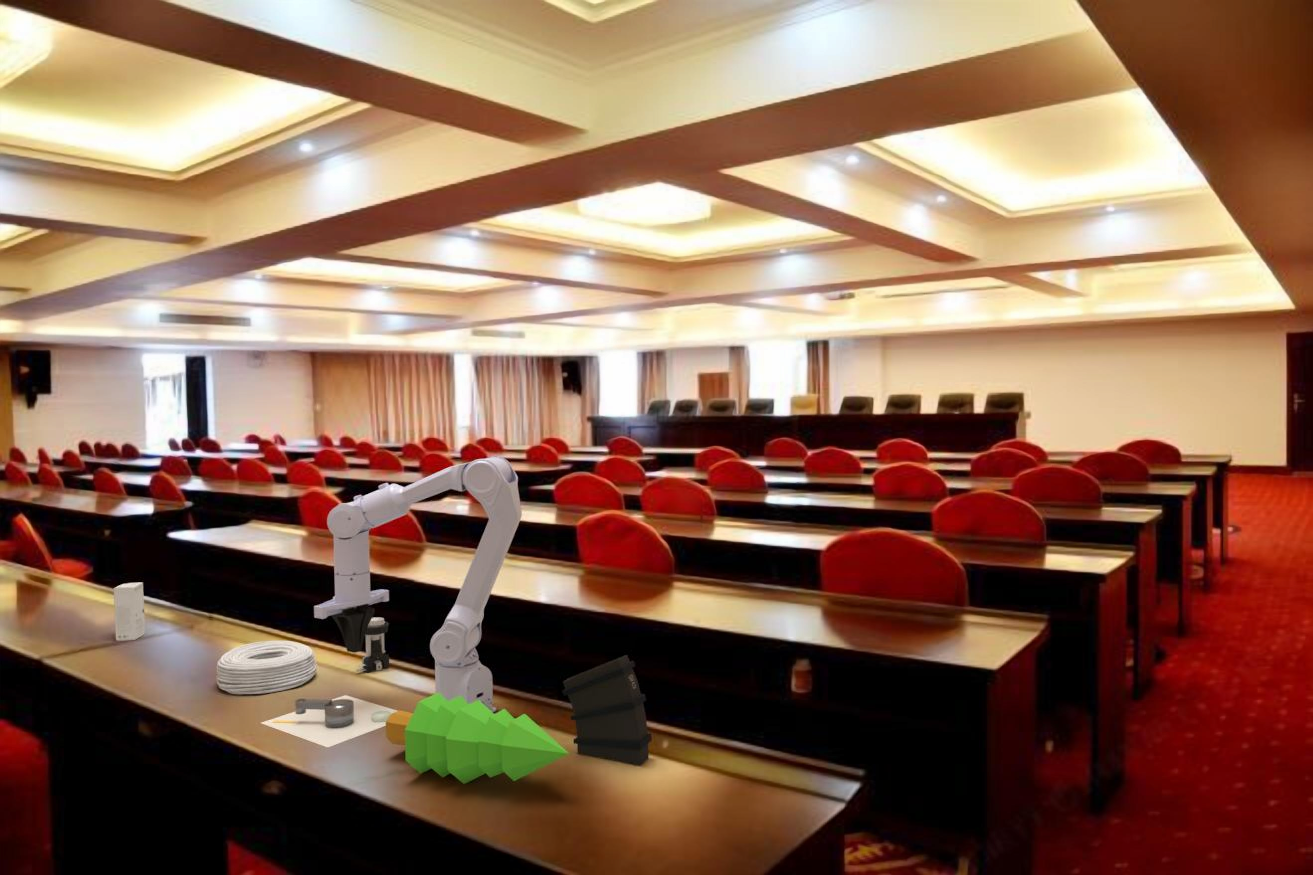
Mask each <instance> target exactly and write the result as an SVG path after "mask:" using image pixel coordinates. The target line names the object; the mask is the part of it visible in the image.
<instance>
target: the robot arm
mask: <svg viewBox="0 0 1313 875" xmlns="http://www.w3.org/2000/svg"><path fill="white" fill-rule="evenodd" d="M518 482H519V477H518V475H517V473H516V471H515V470H514V468H513V466H512V465H511V463H510V462H509V461H508V460H507V459H506V458H504V457H501V456H498V455H492V456H488V457H486V458H479V459H474V460H473V461H469V462H465V463H459V464H456V465H455V464H454V465H451V466H449V467H447V468H444V469H442V470H440V471H437V472H435V473H433V474H431V475H428V476H427V477H424V478H422V479H419V480H418V481H415V482H413V483H411V484H408V485H406V486H402V485H399V484H397V483H391V484H389V483H388V482H385V483H382V484H380V485H378V487H377V488H378V489H377V490H375V491H372V492H370V493H368V494H365V495H362V494H359V495H355V496H354V497H353V501H350V502H346V503H345V502H343V503H342V502H341V503H338V504H337V505H336V506H335V507H333V508H332V509H331V510H330V511H329V513H328V515H327V519H326V524H327V528H328V530H329V531H330V533H331V535H333V570H334V572H333V573H334V576H333V577H334V596H333V597H332V599H330V600H327V601H324V602H323V603H320V604H317V605H314V606H313V614H314V615H313V617H314V618H315V619H321V620H324V619H327V618H328V617H330V616H331V618H332V619H333V620H334V622H335V624H337V626H338V629H339V631H340V632H341V635H342V637H343V638H342V639H343V641H344V644H345V648H346V652H349V653H354V654H356V653H359V652H361V651H362V648H363V644H364V640H365V637H366V635H365V633H366V630H367V627H368V625H369V622H370V620H371V618H374V615H375V607H370V606H371V605H373V604H378V603H381V602H383V603H384V602H385V603H386V602H389V601H390V590H388V589H383V588H382V589H381V588H380V589H376V590H371V571H370V570H371V568H370V541H369V540H370V535H369V534H370V533H369V532H370V530H371V529H374V528H377V527H380V526H382V525H384V524H387V523H389V522H392V521H393V520H396V519H399V518H401V517H403V516H406V515H408V513H409V511H410V508H412V507H411V506H412V505H413V504H414V503H417V502H420V501H423V500H425V499H427V498H430V497H433V496H436V495H438V494H440V493H443V492H446V491H449V490H453V491H457V492H464V491H467V492H468V493H469V494H470V495H471V496H472V497H473V498H474V499H475V500H476V501H478V502H479V503H480V504H481V506H482V508H483V510H484V511H485V514H486V515H487V517H488V521H487V524H486V526H485V529H484V532H483V533H482V535H481V538H480V541H479V543H478V546H477V547H476V548H477V549H476V551H475V553H474V556H473V559H472V561H471V563H470V566H469V568H468V570H467V573H466V575H465V578H464V580H463V583H462V585H461V588H460V590H459V593H458V595H457V598H456V601H455V603H454V604H453V606H452V608H451V610H450V611H449V613H448V614H447V616H446V618H445V620H444V623H443V624H442V626H441V628H439V629H438V630H437V631H436V632H435V633H434V634H433V635H432V637H431V639H430V643H429V649H430V650H429V651H430V654H431V655H432V658H434V673H435V674H434V676H435V678H434V680H435V682H434V683H435V684H434V687H435V692H434V693H435V694H436V693H440V694H441V695H442V696H443V697H444V698H445V699H446V700H447V701H449V700H451V699H453V698H456V697H458V696H461V697H462V698H463V699H464V700H465V701H466V702H467V703H468V704H471V703H473V702H475V701H477V700H479V701H481V702H482V703H483V704H484V705H485V706H486V707H487V708H488V709H489V710H490V711H492V712H493V713H496V711H497V707H494V701H493V698H494V696H493V692H494V691H493V689H494V688H493V686H494V685H493V674H492V671H491V670H490V668H488V667H487V666H485V665H483V664H482V663H481V661H480V660H479V654H478V653H479V652H478V651H477V649H476V647H478V645H479V643H480V641H481V638H482V621H483V620H484V617H485V616H484V615H485V613H484V612H485V607H486V606H487V603H488V600H489V598H490V595H491V594H492V590H493V588H494V585H495V583H496V580H497V577H498V575H499V573H500V570H501V569H502V566H503V564H504V561H505V558H506V555H507V553H508V551H509V549H510V547H511V544H512V541H513V539H514V537H515V533H516V531H517V529H518V527H519V523H520V521H521V519H522V515H523V514H522V506H521V499H520V493H519V486H518Z"/></svg>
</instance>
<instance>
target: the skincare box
mask: <svg viewBox="0 0 1313 875" xmlns="http://www.w3.org/2000/svg"><path fill="white" fill-rule="evenodd" d="M144 598H145V597H144V582H127V583H122V584H120V585H117V586H116V587H114V588H113V603H114V626H115V630H114V631H115V640H116V641H118V642H122V641H123V642H124V641H136V640H137V639H139V638H142V636H144V635H145V634H146V618H145V599H144Z"/></svg>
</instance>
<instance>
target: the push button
mask: <svg viewBox="0 0 1313 875" xmlns="http://www.w3.org/2000/svg"><path fill="white" fill-rule="evenodd" d="M389 626H390V622H388V621H385V618H384V617H379V616H378V617H377V616H376V617H374V616H373V617H372V618H371V620H370V622H369V625H368V627H367V630H366V633H365V654H364V657H362V659H361V660H362V661H361V662H362V664H358V665H356V666H355V667H356V668H360V667H362V668H360V669H357V670H355V671H356V672H362V671H363V672H366V673H372V672H376V671H381V670H385V669H390V655H389V654H387V653H386V650H385V633H387V632H388V631H389V628H388V627H389Z"/></svg>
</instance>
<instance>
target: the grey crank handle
mask: <svg viewBox="0 0 1313 875" xmlns="http://www.w3.org/2000/svg"><path fill="white" fill-rule="evenodd" d="M294 703H295V704H294V707H295V709H294V710H295V711H294V712H295V714H304V713H306V709H316V710H325V725H326V726H328V727H342V726H346V725H349V724H351V723H353V722H354V702H353V701H352V700H349V699H339V700H334V701H332V699H311V698H310V699H308V698H307V699H306V698H299V699H296V700H294Z"/></svg>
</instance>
